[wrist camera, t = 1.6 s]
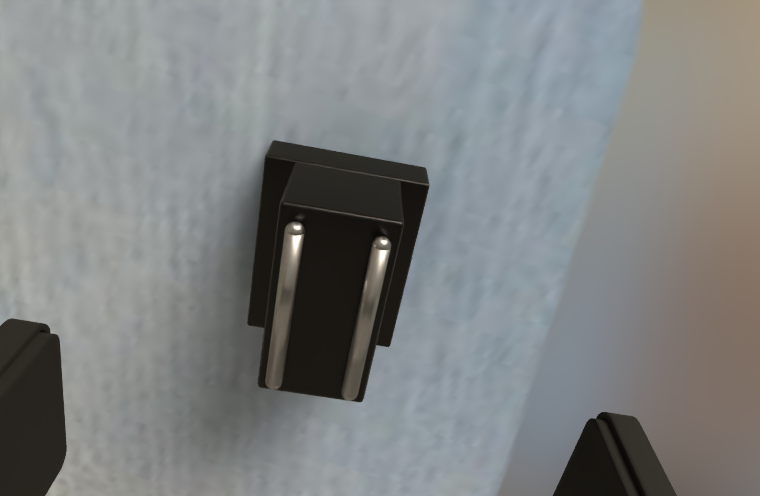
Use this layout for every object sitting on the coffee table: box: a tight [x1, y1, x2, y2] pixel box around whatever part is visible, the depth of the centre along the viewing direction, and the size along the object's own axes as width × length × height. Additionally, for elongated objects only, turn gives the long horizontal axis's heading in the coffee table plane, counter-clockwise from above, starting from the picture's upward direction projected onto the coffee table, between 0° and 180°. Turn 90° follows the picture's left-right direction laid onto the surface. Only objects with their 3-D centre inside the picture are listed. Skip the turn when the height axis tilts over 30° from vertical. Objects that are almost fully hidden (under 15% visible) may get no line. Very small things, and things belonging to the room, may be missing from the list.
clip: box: [247, 141, 429, 402], centre depth 15 cm, size 5×4×4 cm
